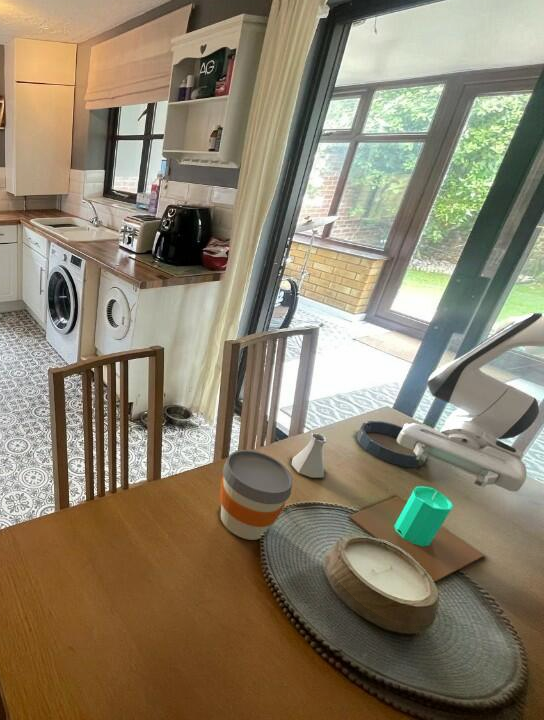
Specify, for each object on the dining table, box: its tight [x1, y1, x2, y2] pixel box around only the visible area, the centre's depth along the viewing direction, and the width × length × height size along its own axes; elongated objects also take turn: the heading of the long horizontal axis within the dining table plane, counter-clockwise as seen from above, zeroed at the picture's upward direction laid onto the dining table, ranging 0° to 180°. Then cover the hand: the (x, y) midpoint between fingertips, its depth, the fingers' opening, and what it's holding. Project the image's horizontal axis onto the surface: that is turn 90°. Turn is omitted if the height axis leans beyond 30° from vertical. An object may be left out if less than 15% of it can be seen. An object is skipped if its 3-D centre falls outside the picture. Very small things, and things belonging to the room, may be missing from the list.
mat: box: [348, 496, 485, 583], centre depth 86 cm, size 16×16×1 cm
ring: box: [356, 420, 429, 468], centre depth 110 cm, size 14×14×4 cm
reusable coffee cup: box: [219, 449, 294, 541], centre depth 86 cm, size 13×13×15 cm
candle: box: [394, 485, 454, 546], centre depth 84 cm, size 6×6×12 cm
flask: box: [291, 432, 327, 479], centre depth 102 cm, size 7×7×10 cm
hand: (449, 470), depth 87 cm, fingers open, 8 cm apart
